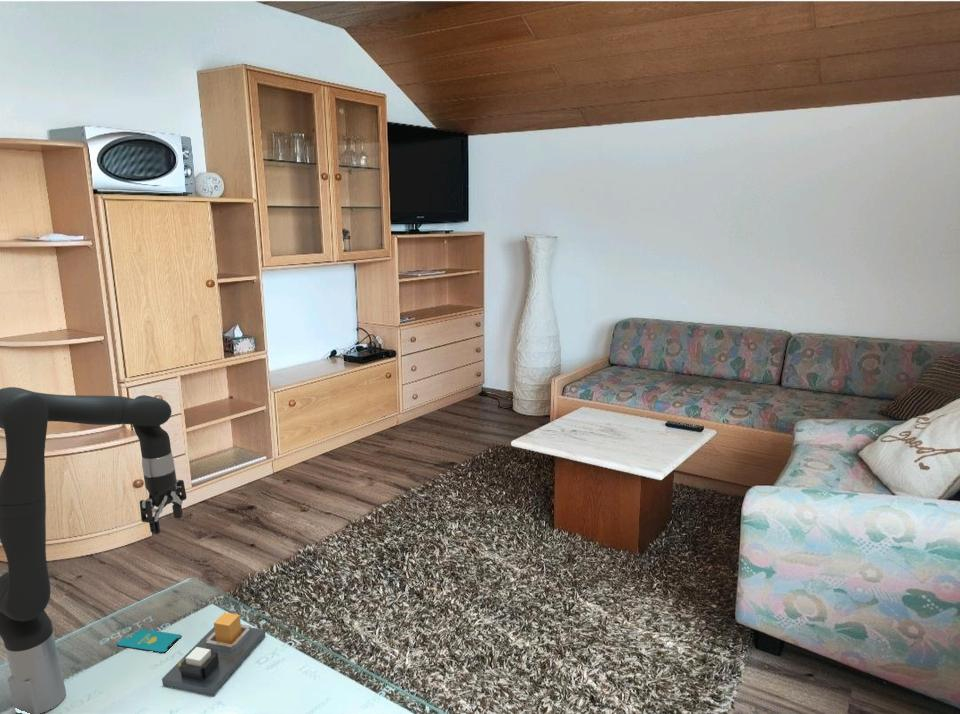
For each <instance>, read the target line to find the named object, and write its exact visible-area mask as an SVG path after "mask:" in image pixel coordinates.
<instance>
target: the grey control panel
mask: <svg viewBox="0 0 960 714" xmlns="http://www.w3.org/2000/svg"><path fill="white" fill-rule="evenodd" d="M241 631H242V634H241V635H240V636H239V637H238V638H237V639H236V640H235V641H234V642H233V644H228V643H222V642H217V641H216V636H215V629H214V626H213V627H212V628H211V629H210V630H209V631H208V632H207V633H206V634H205V635H204V636H203V637H202V638H201V639H200V640H199V641H198V642H197V643H196V644H195V645H194V646H193V647H192V648H191V649H190V650H189V651H188V652H187V653H186V654H185V655H184V656H183V657H182V658H181V659H180V660H179V661H178V662H177V663H176V664H175V665H174V666H173V667H172V668H171V669H170V670H169V671H168V672H167V673H166V674H165V675H164V676H163V677H162V678H161V682H162V687H165V688H166V687H167V688H172V689H176V690H181V691H187V692H189V693H190V692H191V693H196V694H200V695H204V696H210V697H214V696H215V695H216V694H217V692H218V691H219V690H220V689H221V688H222V687H223V686H224V685H225V683H226V682H227V681H228V680H229V679H230V678H231V676H232V675H233V674H234V673H235V672H236V671H237V670H238V669H239V667H240V666H241V665H242V664H243V663H244V662H245V661H246V660H247V658H248V657H249V656H250V655H251V654H252V652H253V651H254V650H255V649H257V647H258V645H259V644H260V643H261V642H262V641H264V639H265V637H266V629H263V628H257V627H251V625H246V624H242V623H241ZM196 647H200V648H205V649H210V650H211V657H210V658H209V659H208V660H207V661H206V662H205V663H204V664H203V665H202V666H201V667H198V666H193V665H188V664H186V657H187V656H188V655H189V654H190V653H191V652H192V651H193V650H194V649H195V648H196Z"/></svg>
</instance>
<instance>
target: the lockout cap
mask: <svg viewBox="0 0 960 714" xmlns="http://www.w3.org/2000/svg"><path fill="white" fill-rule="evenodd" d="M241 624H242V623H241V615H240V614H236V613H231V612H226V611H225V612H223V613H222V614H221V615H220V616H219V617H218V618H217V619H216V620H215V621H214V622H213V627H214V629H215V636H216V641H217V642H222V643H228V644H233V642H234V641H235V640H236V639H237V638H238V637H239V636H240V635H241V634H242V631H241Z"/></svg>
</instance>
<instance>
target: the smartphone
mask: <svg viewBox="0 0 960 714" xmlns="http://www.w3.org/2000/svg"><path fill="white" fill-rule="evenodd" d="M140 629H141V630H139V632H135V634H133V635H132V638H131V637H128V638H129V639H127V638H126V637H125V636H123V637H122V638H121V639H120V640H119V641H118V642H117V643H116V647H120V648H126V649H132V650H137V651H145V652H149V651H153V652H152V653H155V652H159V653H158V654H161V653H164V654H166V652H167V651H168V650H169V649H170V648H171V647H172V646H173V645H174V644H175V643H176V642H177V641H178V640H179V639H180V640H181V639H182V635H181V634H180V633H179V634H178V633H172V632H171V633H170V632H164V631H159V630H151V629H144V628H140ZM180 640H179V641H180ZM179 641H178V642H179ZM178 642H177V643H178ZM177 643H176V644H177ZM174 646H175V645H174ZM174 646H173V647H174ZM173 647H172V648H173ZM172 648H171V649H172ZM171 649H170V650H171ZM170 650H169V651H170ZM169 651H168V652H169ZM168 652H167V653H168Z"/></svg>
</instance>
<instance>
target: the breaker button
mask: <svg viewBox="0 0 960 714" xmlns="http://www.w3.org/2000/svg"><path fill="white" fill-rule="evenodd" d="M210 657H211V650H210V649H205V648H200V647H196V648H195V649H194V650H193V651H192V652H191V653H190V654H189V655H188V656H187V657H186V664H188V665H193V666H198V667H201V666H202V665H203V664H204V663H205V662H206V661H207V660H208V659H209V658H210Z"/></svg>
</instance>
